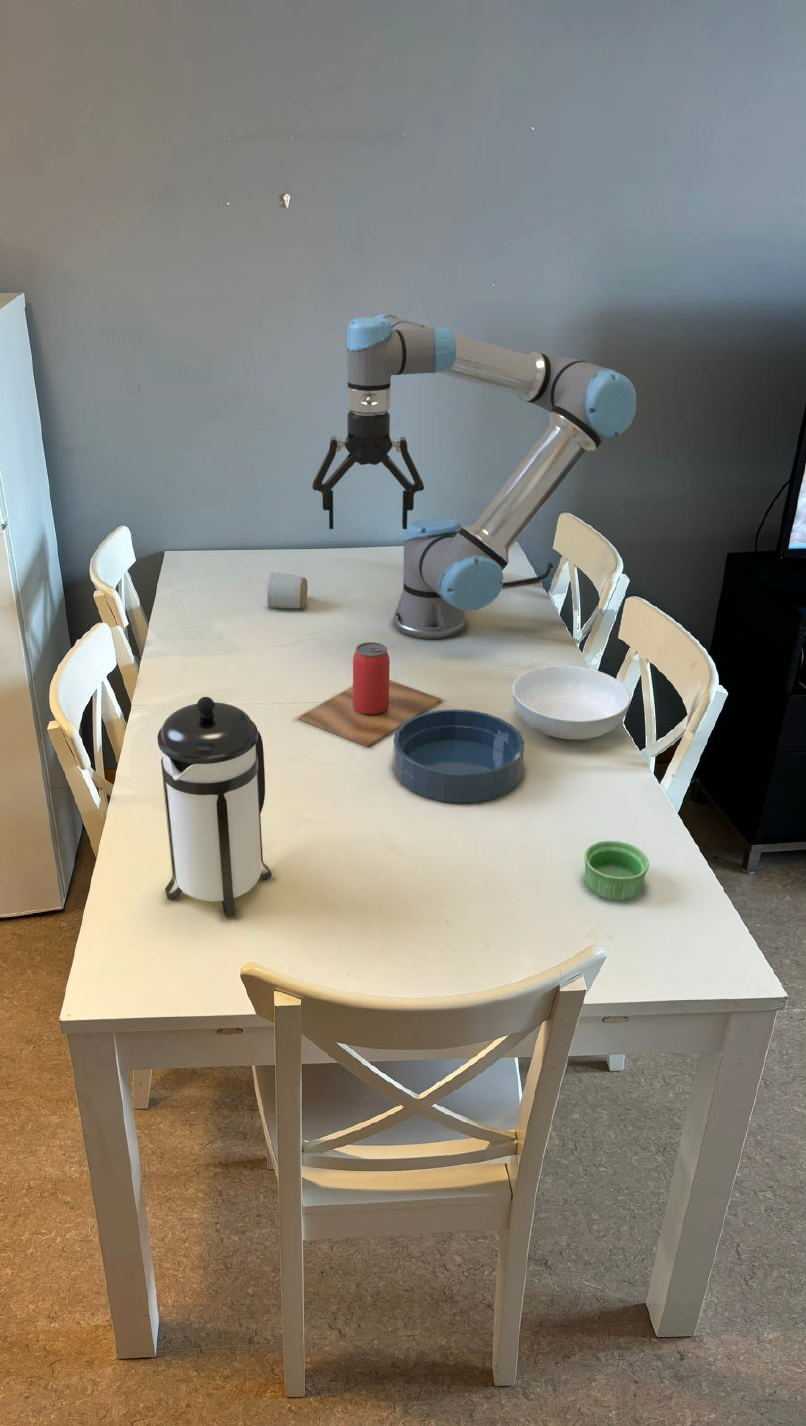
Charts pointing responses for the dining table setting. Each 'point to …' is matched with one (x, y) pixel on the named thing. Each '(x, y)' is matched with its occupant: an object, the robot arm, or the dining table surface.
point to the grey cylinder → (286, 591)
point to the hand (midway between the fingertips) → (368, 527)
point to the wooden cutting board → (369, 728)
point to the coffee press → (213, 801)
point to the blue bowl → (458, 755)
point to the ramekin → (615, 869)
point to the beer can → (371, 678)
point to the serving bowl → (570, 701)
